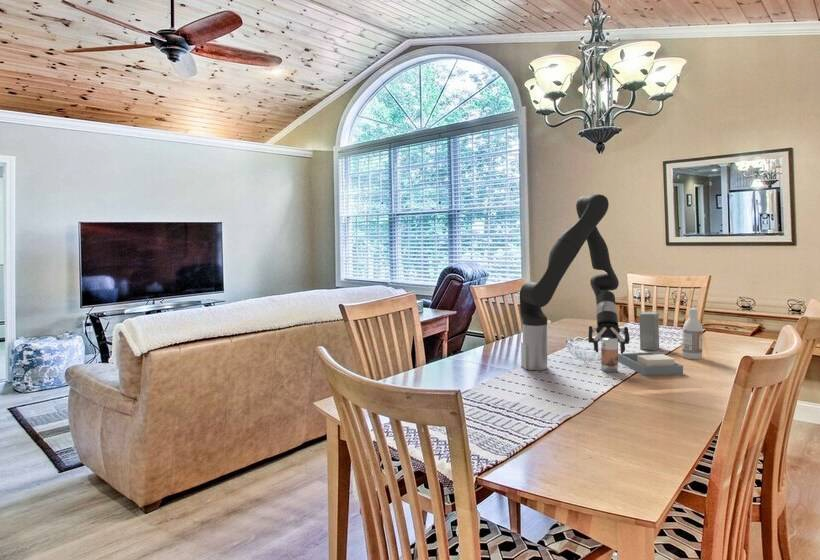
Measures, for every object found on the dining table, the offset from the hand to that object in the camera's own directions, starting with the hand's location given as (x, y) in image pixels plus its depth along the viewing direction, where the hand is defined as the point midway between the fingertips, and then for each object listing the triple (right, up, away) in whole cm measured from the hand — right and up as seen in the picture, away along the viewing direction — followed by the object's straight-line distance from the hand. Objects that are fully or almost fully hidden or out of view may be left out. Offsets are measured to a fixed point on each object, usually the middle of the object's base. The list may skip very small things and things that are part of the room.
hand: (609, 351), depth 185 cm
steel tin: (0, -8, 0) cm, 8 cm away
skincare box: (+32, -4, +36) cm, 48 cm away
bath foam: (+41, -5, +19) cm, 45 cm away
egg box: (+16, -7, -1) cm, 17 cm away
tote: (+16, -7, +3) cm, 18 cm away
